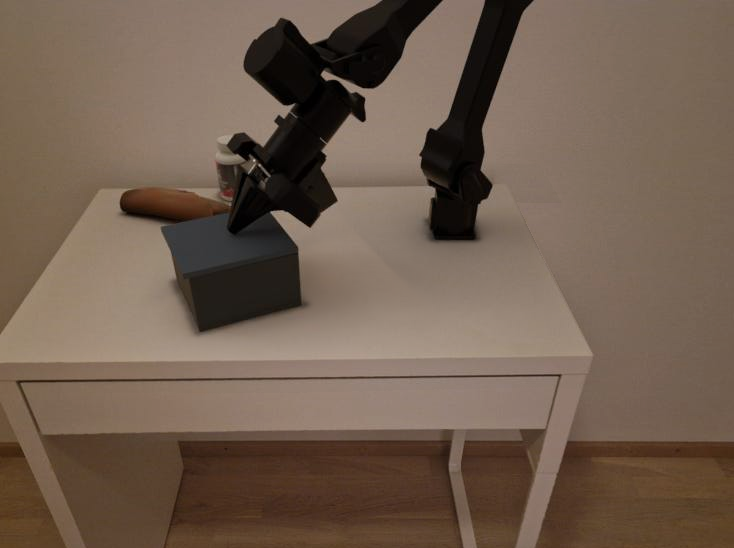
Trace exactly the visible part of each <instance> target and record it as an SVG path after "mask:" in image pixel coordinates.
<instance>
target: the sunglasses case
mask: <svg viewBox="0 0 734 548" xmlns="http://www.w3.org/2000/svg"><path fill="white" fill-rule="evenodd" d="M119 208H120V211H121V212H122V213H131V214H133V213H134V214H142V215H143V214H144V215H154V216H157V217H162V218H166V219H171V220H172V219H174V220H179V221H181V222H185V221H190V220H195V219H200V218H205V217H210V216H215V215H219V214H224V213H229V212H230V209H231V205H230V204H228V203H225V202H223V201H219V200H215V199H212V198H209V197H205V196H201V195H198V193H196V192H195V191H187V189H186V190H185V189H178V188H167V187H139V188H133V189H128V190H126V191H124V192H123V193H122V194H121V196H120V198H119Z"/></svg>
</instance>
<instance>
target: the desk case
mask: <svg viewBox="0 0 734 548" xmlns="http://www.w3.org/2000/svg"><path fill="white" fill-rule="evenodd" d="M170 255H171V259H172V264H173V269H174V273H175V274H174V275H175V279H176V283H177V284H178V287H179V289H180V291H181V294H182V296H183V298H184V300H185V303H186V305H187V307H188V309H189V311H190V313H191V316H192V318H193V321H194V323H195V325H196V327H197V330H198V331H199V332H200V333H201V332H205V331H209V330H213V329H216V328H221V327H225V326H227V325H228V326H229V325H232V324H236V323H239V322H244V321H248V320H251V319H254V318H260V317H263V316H266V315H270V314H275V313H278V312H281V311H285V310H289V309H293V308H297V307H300V306H301V307H302V305H303V303H302V302H303V301H302V287H301V270H300V254H299V252H298V253H294V254H290V255H286V256H282V257H277V258H273V259H269V260H265V261H260V262H256V263H252V264H248V265H243V266H239V267H235V268H231V269H226V270H222V271H218V272H214V273H210V274H205V275H201V276H197V277H193V278H188V279H183V277H182V275H181V273H180V270H179V268H178V266H177V264H176V262H175V260H174V258H173V255H172V253H171V252H170Z"/></svg>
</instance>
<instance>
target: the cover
mask: <svg viewBox="0 0 734 548" xmlns="http://www.w3.org/2000/svg"><path fill="white" fill-rule="evenodd" d="M271 212H272V211H271ZM271 212H269V213H267V214H265V215H263V216H262V217H260V218H259V219H257V220H256V221H254V222H253V223H251V224H250V225H248V226H247V227H245V228H244V229H243V230H241V231H240V232H238V233H237V234H235V235H234V234H232V233H230V232H229V231H228V230H227V223H228V219H229V214H230V212H229V213H224V214H219V215H215V216H210V217H205V218H200V219H195V220H190V221H181V222H177V223H172V224H171V223H170V224H166V225H162V226H160V231H161V234H162V236H163V238H164V240H165V243H166V244H167V247H168V249H169V251H170V254H171V253H172V255H173V258H174V260H175V262H176V264H177V266H178V268H179V270H180V273H181V275H182V277H183V279H188V278H193V277H197V276H201V275H205V274H210V273H214V272H218V271H222V270H226V269H231V268H235V267H239V266H243V265H248V264H252V263H256V262H260V261H265V260H269V259H273V258H277V257H282V256H286V255H290V254H294V253H299V246H298V245H297V243H296V242H295V241H294V240H293V238H292V237H291V236H290V235H289V233H288V232H287V231H286V230H285V229H284V227H283V226H282V225H281V224H280V222H279V221H278V220H277V219H276V217H275V216H274V215H273V214H272V213H271ZM172 255H171V256H172Z"/></svg>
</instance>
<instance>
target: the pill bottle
mask: <svg viewBox="0 0 734 548" xmlns="http://www.w3.org/2000/svg"><path fill="white" fill-rule="evenodd" d="M233 135H234V134H225V135H221V136H219V137H218V138H216V147H217V150H218V151H217V152H216V153H215V156H214V159H215V168H216V173H217V181H218V185H219V186H218V188H219V192H220V197H221V198H222V199H223V200H226V201H230V202H232V199H233V193H234V187H235V181H236V175H237V168H236V166H237V164H239V165H240V166H242V167H244V165H245V164H246V162H247V161H246V160H244V159H243V158H242V157H240V156H239V155H238V154H236V155H235V154H233V153H232V152H231V151H230V149H229V148H228V147H227V146H226V145H227V144H228V142H229V141H230V140H231V138H232V137H233Z"/></svg>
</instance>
